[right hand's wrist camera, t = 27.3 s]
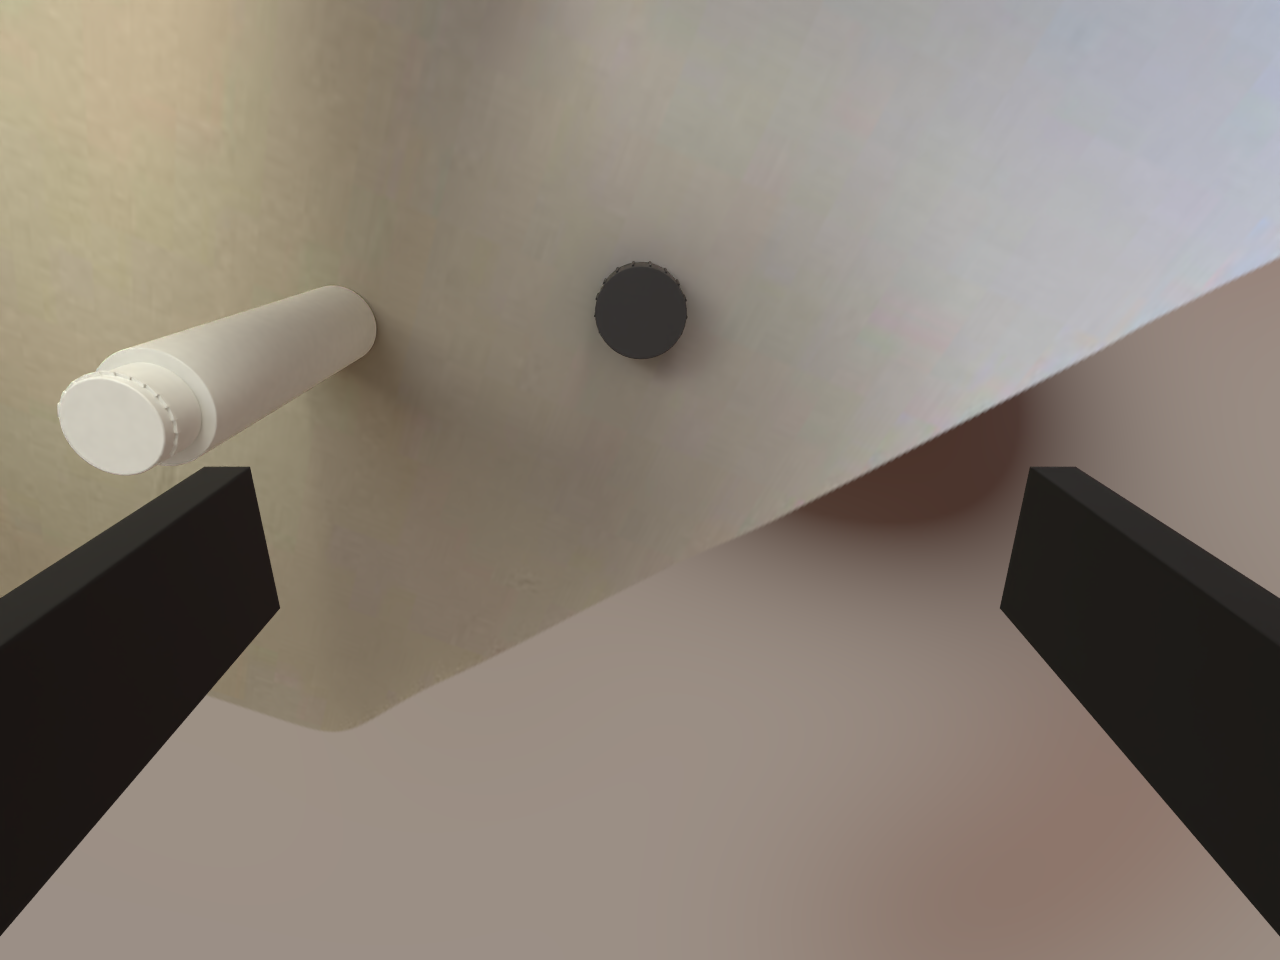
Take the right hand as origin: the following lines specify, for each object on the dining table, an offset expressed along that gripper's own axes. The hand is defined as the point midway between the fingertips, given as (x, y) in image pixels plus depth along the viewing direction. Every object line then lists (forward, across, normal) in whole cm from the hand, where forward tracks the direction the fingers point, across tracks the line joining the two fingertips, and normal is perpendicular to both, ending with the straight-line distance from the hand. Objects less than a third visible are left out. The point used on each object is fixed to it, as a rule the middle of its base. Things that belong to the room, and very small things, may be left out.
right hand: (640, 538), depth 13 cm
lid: (+27, 0, 0) cm, 27 cm away
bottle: (+29, +16, +1) cm, 33 cm away
